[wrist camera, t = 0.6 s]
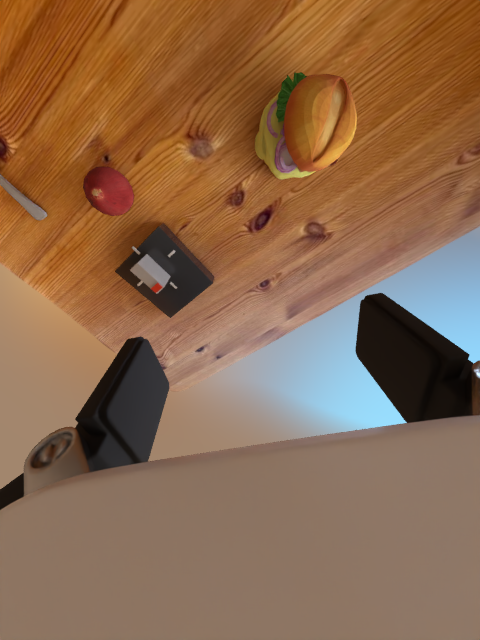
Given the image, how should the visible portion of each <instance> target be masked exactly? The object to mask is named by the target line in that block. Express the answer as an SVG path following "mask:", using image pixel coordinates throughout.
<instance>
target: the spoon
mask: <svg viewBox="0 0 480 640" xmlns="http://www.w3.org/2000/svg"><path fill="white" fill-rule="evenodd" d="M0 185H1V186H2V187H3V188H4V189H5V190H6V191H7V192H8V193H9V194H10V195H11V196H12V197H13V198H14V199H15V200H16V201H18V202H19V203H20V204H21V205H22V206H23V207H24V208H25V209H26V210H27V211H28V212H29V213H30V214H31V215H32V216H33V217H34V218H35V219H36V220H42V219H44V218H45V217H47V213H46V212H45V211H44V210H43V209H41V208H40V207H39V206H37V205H36V204H35V203H33V202H32V201H31V200H29V199H28V198H27V197H26V196H24V195H23V194H22V193H21V192H20V191H19V190H17V189H16V188H15V187H14V186H13V185H12V184H11V183H9V182H8V181H7V180H6V179H5V178H4V177H3V176H2V175H1V174H0Z"/></svg>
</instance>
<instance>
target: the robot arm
mask: <svg viewBox="0 0 480 640" xmlns="http://www.w3.org/2000/svg"><path fill="white" fill-rule="evenodd" d="M356 354H357V357H358V358H359V360H360V361H361V362H362V364H363V365H364V366H365V367H366V369H367V370H368V372H369V373H370V374H371V376H372V377H373V378H374V380H375V381H376V382H377V383H378V385H379V386H380V388H381V389H382V390H383V392H384V393H385V394H386V396H387V397H388V398H389V400H390V401H391V402H392V403H393V405H394V406H395V408H396V409H397V410H398V412H399V413H400V414H401V416H402V417H403V418H404V420H405V421H406V422H407V423H404V424H397V425H391V426H383V427H376V428H369V429H362V430H355V431H348V432H341V433H335V434H327V435H320V436H314V437H307V438H301V439H294V440H286V441H280V442H273V443H266V444H260V445H253V446H246V447H240V448H233V449H227V450H220V451H213V452H207V453H200V454H194V455H187V456H181V457H175V458H168V459H162V460H155V461H149V462H148V459H149V456H150V453H151V449H152V446H153V442H154V439H155V435H156V432H157V429H158V425H159V422H160V418H161V415H162V411H163V408H164V404H165V401H166V398H167V394H168V391H169V382H168V380H167V378H166V375H165V373H164V371H163V369H162V367H161V365H160V363H159V361H158V359H157V357H156V355H155V353H154V351H153V349H152V347H151V345H150V343H149V341H148V340H147V339H144V338H143V337H137V338H131V339H128V340H127V341H126V342H125V344H124V345H123V347H122V348H121V350H120V351H119V353H118V354H117V356H116V357H115V359H114V360H113V362H112V364H111V365H110V367H109V368H108V370H107V371H106V373H105V374H104V376H103V377H102V379H101V380H100V382H99V383H98V385H97V387H96V388H95V390H94V391H93V393H92V394H91V396H90V397H89V399H88V400H87V402H86V403H85V405H84V407H83V408H82V410H81V411H80V413H79V414H78V416H77V417H76V421H77V422H78V424H77V426H76V428H73V427H65V428H61V429H58V430H56V431H55V432H53V433H51V434H49V435H48V436H47V437H45V438H44V439H42V440H41V441H40V442H39V443H38V444H37V445H36V446H35V447H34V448H33V450H32V451H31V452H30V453H29V455H28V457H27V459H26V460H25V464H24V473H23V474H21V475H20V476H18V477H17V478H16V479H14V480H13V481H11V482H10V483H9V484H7V485H6V486H5V487H3V488H2V489H0V640H480V361H477V362H476V363H474V364H473V363H472V362H471V361H469V360H468V357H469V354H468V353H466V352H465V351H464V350H462V349H461V348H459V347H458V346H457V345H455V344H454V343H452V342H451V341H449V340H448V339H447V338H445V337H444V336H442V335H441V334H439V333H438V332H437V331H435V330H434V329H432V328H431V327H430V326H428V325H427V324H425V323H424V322H423V321H421V320H420V319H418V318H417V317H416V316H414V315H413V314H411V313H410V312H408V311H407V310H406V309H404V308H403V307H401V306H400V305H399V304H397V303H396V302H394V301H393V300H391V299H390V298H388V297H387V296H386V295H384V294H383V293H378V294H373V295H367V296H365V298H364V300H362V301H361V304H360V312H359V322H358V332H357V341H356Z"/></svg>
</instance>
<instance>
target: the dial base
mask: <svg viewBox="0 0 480 640" xmlns="http://www.w3.org/2000/svg"><path fill="white" fill-rule="evenodd" d="M132 249H133V250H134V252H133V253H132V254H131V255H130V256H129V257H128V258H127V259H126V260H125V261H124V262H123V263H122V264H121V265H120V267H119V268H118V269H117V270H116V271H115V272H116V273H117V274H119V275H120V276H121V277H122V278H123V279H124V280H126V281H127V282H128V283H129V284H130V285H132V286H133V287H134V288H135V289H136V290H138V291H139V292H140V293H141V294H142V295H143V296H145V297H146V298H147V299H148V300H149V301H151V302H152V303H153V304H154V305H155V306H157V307H158V308H159V309H160V310H161V311H163V312H164V313H165V314H166V315H167V316H168V317H170V318H171V317H172V316H173V315H175V314H176V313H177V312H178V311H180V310H181V309H182V308H183V307H184V306H186V305H187V304H188V303H189V302H191V301H192V300H193V299H194V298H195V297H197V296H198V295H199V294H200V293H202V292H203V291H204V290H205V289H206V288H208V287H209V286H210V285H211V284H213V281H214V276H213V275H212V274H211V273H210V272H209V271H208V270H207V269H206V267H205V266H204V265H203V264H202V263H201V262H200V261H199V260H198V259H197V258H196V257H195V256H194V255H193V254H192V253H191V252H190V250H189V249H188V248H187V247H186V246H185V245H184V244H183V243H182V242H181V241H180V240H179V239H178V238H177V237H176V236H175V235H174V233H173V232H172V231H171V230H170V229H169V228H168V227H167V226H166V225H165V224H164V223H163V224H161V225H160V226H158V227H157V229H156V230H155V231H154V232H153V233H152V234H151V235H150V236H149V237H148V238H147V239H146V240H145V241H144V242H143V243H142V244H141V245H140V246H139V247H138V248H137V249H136V248H135V247H134V246H133V247H132ZM146 254H148V255H149V256H150V257H151V258H152V259H153V260H154V261H155V262H156V263H157V264H158V265H159V266H160V267H161V268H162V269H163V270H164V271H166V272H167V273H168V274H169V275H170V276H171V277H170V279H169V280H168V282H167V284H166V285H165V287H164V288H163V289H162V290H161V291H160V292H159V293H157V294H156V293H155V292H154V291H153V290H152V289H151V288H149V287H148V286H147V285H146V284H145V283H144V282H143V281H141V280H140V279H139V278H138V277H137V276H136V275H135V274H133V273H132V272H131V271H130V269H131V268H132V267H133V266H134V265H135V264H136V263H137V262H139V261H140V260H141V259H142V258H143V257H144V256H145V255H146Z"/></svg>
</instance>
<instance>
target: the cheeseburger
mask: <svg viewBox="0 0 480 640" xmlns="http://www.w3.org/2000/svg"><path fill="white" fill-rule="evenodd" d="M356 123H357V113H356V107H355V103H354V99H353V96H352V94H351V91H350V89H349V86H348V84H347V83H346V81H345V80H344V79H343V78H342V77H339V76H335V75H329V74H323V75H311V76H305V75H304V74H303V73H302V72H301V73H294V79H292V80H291V79H290V77H289V76H288V75H287V78H286V79H285V80H284V81H283V82H282V87H281V90H280V91H279V92H278V94H277V95H276V96H275V97H274V98H273V99H272V100H271V101H270V102H269V103H268V105H267V106H266V107H265V108H264V111H263V114H262V116H261V121H260V126H259V132H258V133H257V135H256V138H255V151H256V154H257V156H258V157H259V158H260V159H263V162H264V163H265V164H266V166H267V167H268V168H269V169H270V170H271V172H272V173H273V174H274V175H275V176H276V177H277V178H279V179H280V180H281V179H287V178H294V177H298V178H301V177H304V176H308V175H310V174H312V173H314V172H315V171H319V170H321V169H324V168H326V167H330V166H334V165H335V164H336V162H337V161H338V159H337V158H338V157H339V156H340V155H341V154H342V153H343V152H344V151H345V150H346V149H347V147H348V146H349V144H350V142H351V141H352V139H353V137H354V133H355V130H356Z"/></svg>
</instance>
